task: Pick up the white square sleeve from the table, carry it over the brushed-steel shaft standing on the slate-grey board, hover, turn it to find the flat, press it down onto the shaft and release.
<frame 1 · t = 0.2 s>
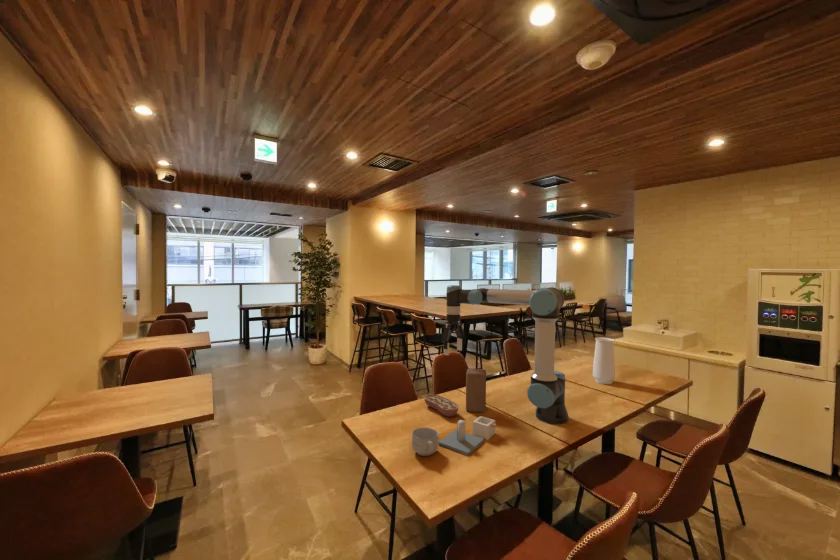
hand: (453, 352, 190), 28 cm above the table, fingers open, 13 cm apart
teacup: (425, 454, 138), on the table
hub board: (461, 443, 147), on the table
white square sleeve: (483, 434, 155), on the table
anatomical model: (441, 411, 180), on the table
wooden block: (475, 409, 183), on the table
vase: (603, 382, 227), on the table
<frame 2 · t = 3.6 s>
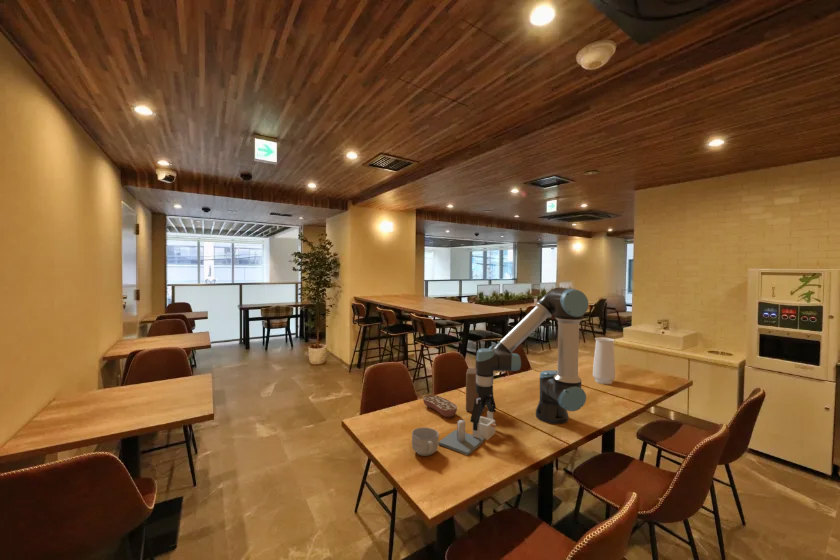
hand: (483, 431, 155), 1 cm above the table, fingers open, 13 cm apart
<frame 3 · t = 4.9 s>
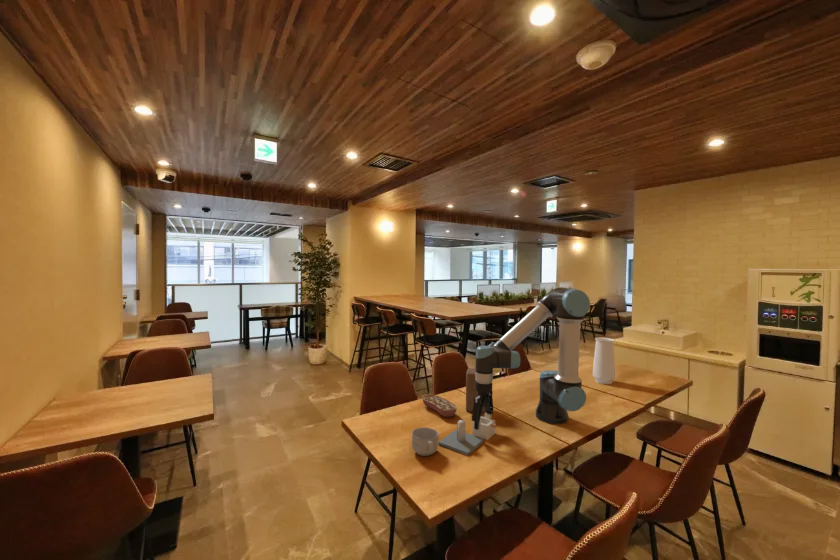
hand: (482, 431, 154), 1 cm above the table, fingers open, 9 cm apart
white square sleeve: (483, 434, 155), on the table, touching gripper
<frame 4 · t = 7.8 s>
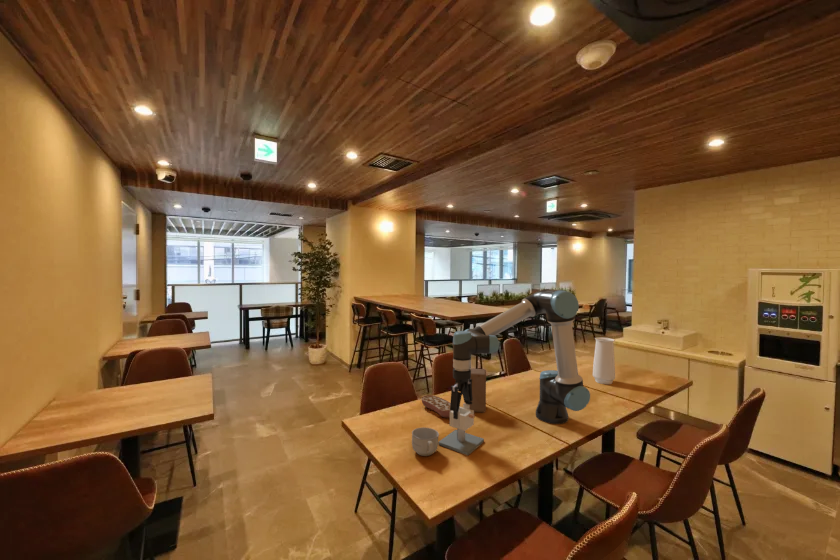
hand: (461, 422, 147), 9 cm above the table, fingers closed on white square sleeve, 7 cm apart
white square sleeve: (461, 425, 147), point 8 cm above the table, touching gripper
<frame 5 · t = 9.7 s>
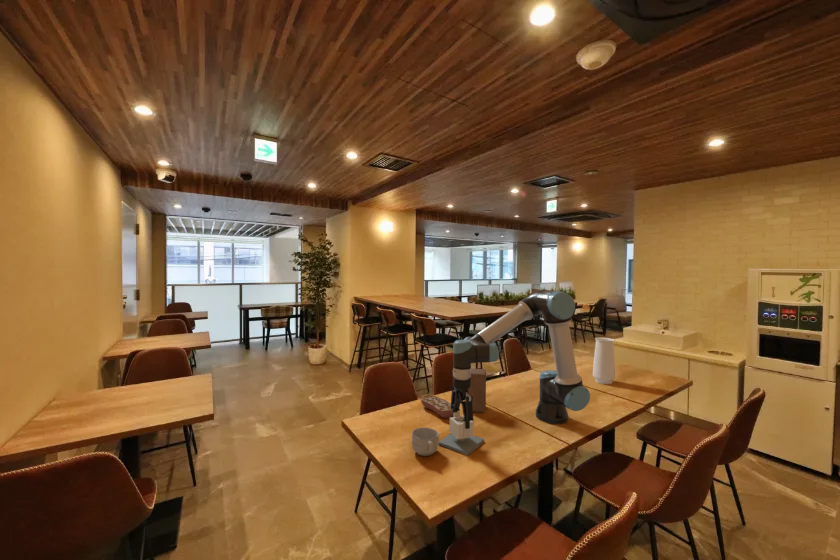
hand: (461, 431, 147), 5 cm above the table, fingers closed on white square sleeve, 7 cm apart
white square sleeve: (461, 433, 147), point 4 cm above the table, touching gripper
when the fingers open (2 cm above the table, at t = 10.6 s): white square sleeve stays where it is, resting on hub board.
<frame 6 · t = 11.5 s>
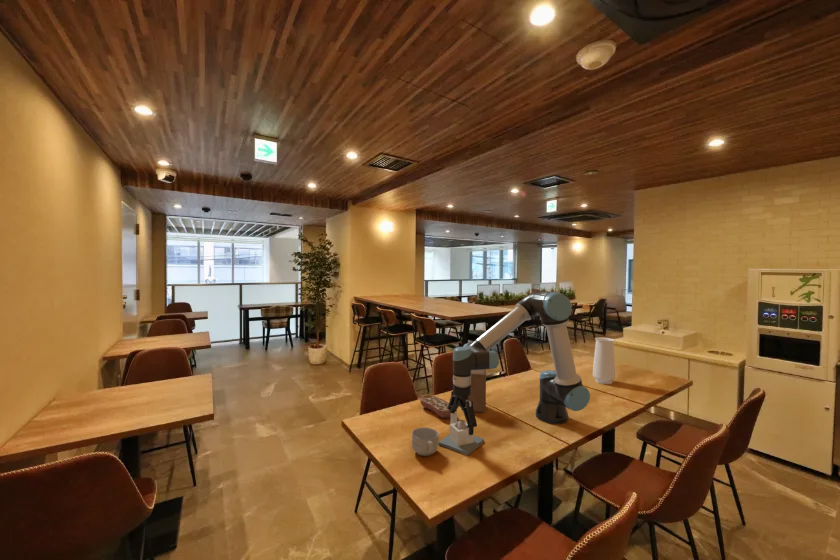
hand: (461, 434, 147), 4 cm above the table, fingers open, 13 cm apart
white square sleeve: (461, 440, 147), point 1 cm above the table, touching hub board
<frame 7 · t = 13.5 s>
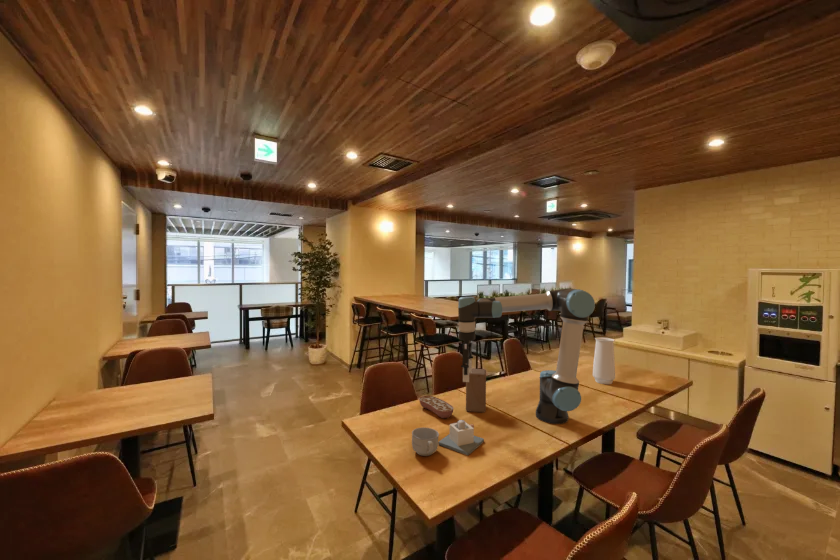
hand: (467, 377, 159), 24 cm above the table, fingers open, 13 cm apart
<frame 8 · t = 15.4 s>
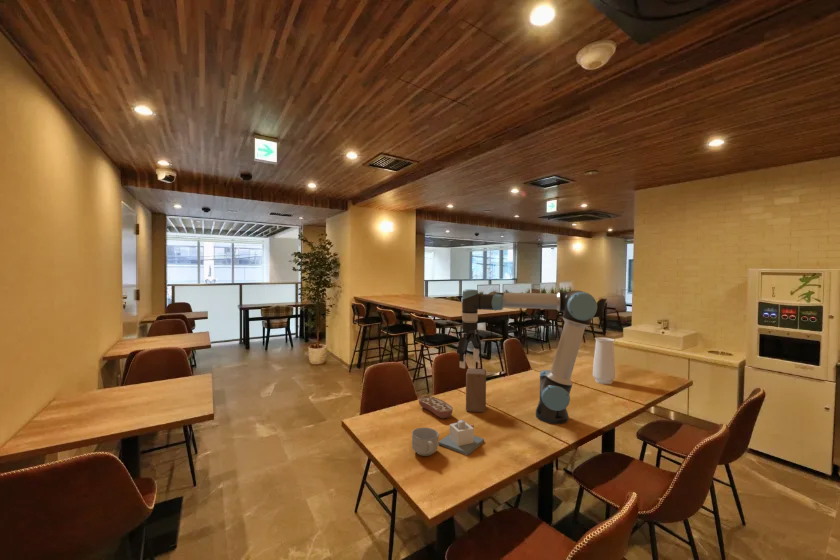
hand: (469, 364, 170), 27 cm above the table, fingers open, 13 cm apart
at the end: white square sleeve 0.0 cm off-centre on the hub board, point 1.2 cm above the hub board's base; white square sleeve tilted 0°; the gripper is holding nothing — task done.
